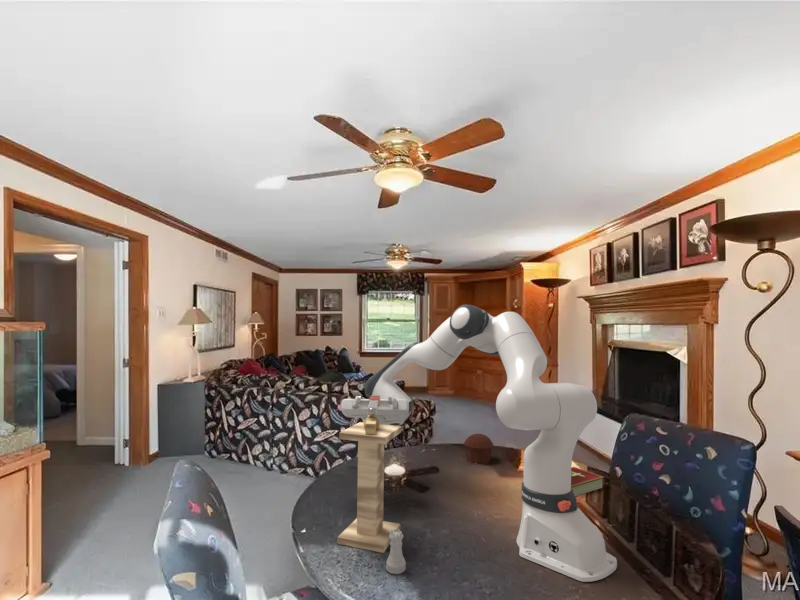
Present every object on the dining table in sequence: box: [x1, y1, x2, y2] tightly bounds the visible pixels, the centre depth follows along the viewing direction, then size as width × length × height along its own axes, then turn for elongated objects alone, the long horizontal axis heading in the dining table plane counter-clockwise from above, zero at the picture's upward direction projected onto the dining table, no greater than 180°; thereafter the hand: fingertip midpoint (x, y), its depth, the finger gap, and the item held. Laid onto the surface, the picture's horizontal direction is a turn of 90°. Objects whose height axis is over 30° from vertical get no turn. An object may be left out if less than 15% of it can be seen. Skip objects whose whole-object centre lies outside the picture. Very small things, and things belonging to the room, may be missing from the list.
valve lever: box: [367, 396, 380, 415], centre depth 120 cm, size 19×3×2 cm, turn 0°
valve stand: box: [336, 415, 403, 554], centre depth 111 cm, size 12×12×30 cm
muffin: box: [463, 433, 494, 465], centre depth 171 cm, size 12×11×10 cm
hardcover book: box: [571, 466, 605, 497], centre depth 144 cm, size 12×21×4 cm, turn 122°
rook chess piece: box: [385, 529, 407, 575], centre depth 96 cm, size 4×4×8 cm
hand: (374, 398), depth 126 cm, fingers open, 8 cm apart
